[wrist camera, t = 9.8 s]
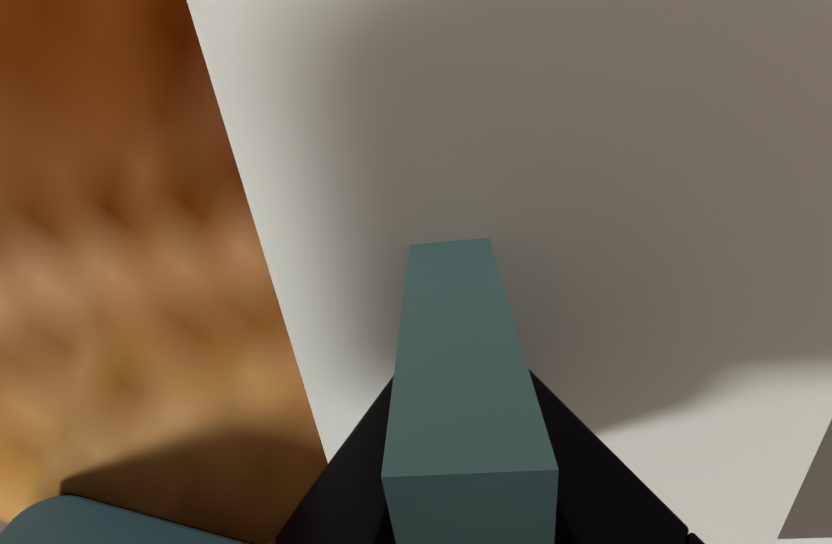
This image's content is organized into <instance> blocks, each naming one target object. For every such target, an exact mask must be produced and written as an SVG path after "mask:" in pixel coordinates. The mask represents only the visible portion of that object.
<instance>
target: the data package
mask: <svg viewBox="0 0 832 544" xmlns="http://www.w3.org/2000/svg"><path fill="white" fill-rule="evenodd" d="M0 544H249V543H245V542H242V541H238V540H234V539H231V538H227V537H224V536H220V535H216V534H213V533H209V532H206V531H202V530H199V529H195V528H191V527H188V526H184V525H181V524H177V523H173V522H170V521H166V520H163V519H159V518H155V517H152V516H148V515H145V514H141V513H137V512H134V511H130V510H127V509H123V508H119V507H116V506H112V505H109V504H105V503H101V502H98V501H94V500H91V499H87V498H83V497H79V496H73V495H63V496H56V497H52V498H48V499H45V500H43V501H40V502H38V503H36V504H34V505H32V506H30V507H28V508H27V509H25V510H24V511H22V512H21V513H20V514H18V515H17V516H16V517H15V518H14V519H13V520H12V521H11V522H10V523H9V524H8V525H7V526H6V527H5V528H4V530H3V531H2V532H1V533H0Z"/></svg>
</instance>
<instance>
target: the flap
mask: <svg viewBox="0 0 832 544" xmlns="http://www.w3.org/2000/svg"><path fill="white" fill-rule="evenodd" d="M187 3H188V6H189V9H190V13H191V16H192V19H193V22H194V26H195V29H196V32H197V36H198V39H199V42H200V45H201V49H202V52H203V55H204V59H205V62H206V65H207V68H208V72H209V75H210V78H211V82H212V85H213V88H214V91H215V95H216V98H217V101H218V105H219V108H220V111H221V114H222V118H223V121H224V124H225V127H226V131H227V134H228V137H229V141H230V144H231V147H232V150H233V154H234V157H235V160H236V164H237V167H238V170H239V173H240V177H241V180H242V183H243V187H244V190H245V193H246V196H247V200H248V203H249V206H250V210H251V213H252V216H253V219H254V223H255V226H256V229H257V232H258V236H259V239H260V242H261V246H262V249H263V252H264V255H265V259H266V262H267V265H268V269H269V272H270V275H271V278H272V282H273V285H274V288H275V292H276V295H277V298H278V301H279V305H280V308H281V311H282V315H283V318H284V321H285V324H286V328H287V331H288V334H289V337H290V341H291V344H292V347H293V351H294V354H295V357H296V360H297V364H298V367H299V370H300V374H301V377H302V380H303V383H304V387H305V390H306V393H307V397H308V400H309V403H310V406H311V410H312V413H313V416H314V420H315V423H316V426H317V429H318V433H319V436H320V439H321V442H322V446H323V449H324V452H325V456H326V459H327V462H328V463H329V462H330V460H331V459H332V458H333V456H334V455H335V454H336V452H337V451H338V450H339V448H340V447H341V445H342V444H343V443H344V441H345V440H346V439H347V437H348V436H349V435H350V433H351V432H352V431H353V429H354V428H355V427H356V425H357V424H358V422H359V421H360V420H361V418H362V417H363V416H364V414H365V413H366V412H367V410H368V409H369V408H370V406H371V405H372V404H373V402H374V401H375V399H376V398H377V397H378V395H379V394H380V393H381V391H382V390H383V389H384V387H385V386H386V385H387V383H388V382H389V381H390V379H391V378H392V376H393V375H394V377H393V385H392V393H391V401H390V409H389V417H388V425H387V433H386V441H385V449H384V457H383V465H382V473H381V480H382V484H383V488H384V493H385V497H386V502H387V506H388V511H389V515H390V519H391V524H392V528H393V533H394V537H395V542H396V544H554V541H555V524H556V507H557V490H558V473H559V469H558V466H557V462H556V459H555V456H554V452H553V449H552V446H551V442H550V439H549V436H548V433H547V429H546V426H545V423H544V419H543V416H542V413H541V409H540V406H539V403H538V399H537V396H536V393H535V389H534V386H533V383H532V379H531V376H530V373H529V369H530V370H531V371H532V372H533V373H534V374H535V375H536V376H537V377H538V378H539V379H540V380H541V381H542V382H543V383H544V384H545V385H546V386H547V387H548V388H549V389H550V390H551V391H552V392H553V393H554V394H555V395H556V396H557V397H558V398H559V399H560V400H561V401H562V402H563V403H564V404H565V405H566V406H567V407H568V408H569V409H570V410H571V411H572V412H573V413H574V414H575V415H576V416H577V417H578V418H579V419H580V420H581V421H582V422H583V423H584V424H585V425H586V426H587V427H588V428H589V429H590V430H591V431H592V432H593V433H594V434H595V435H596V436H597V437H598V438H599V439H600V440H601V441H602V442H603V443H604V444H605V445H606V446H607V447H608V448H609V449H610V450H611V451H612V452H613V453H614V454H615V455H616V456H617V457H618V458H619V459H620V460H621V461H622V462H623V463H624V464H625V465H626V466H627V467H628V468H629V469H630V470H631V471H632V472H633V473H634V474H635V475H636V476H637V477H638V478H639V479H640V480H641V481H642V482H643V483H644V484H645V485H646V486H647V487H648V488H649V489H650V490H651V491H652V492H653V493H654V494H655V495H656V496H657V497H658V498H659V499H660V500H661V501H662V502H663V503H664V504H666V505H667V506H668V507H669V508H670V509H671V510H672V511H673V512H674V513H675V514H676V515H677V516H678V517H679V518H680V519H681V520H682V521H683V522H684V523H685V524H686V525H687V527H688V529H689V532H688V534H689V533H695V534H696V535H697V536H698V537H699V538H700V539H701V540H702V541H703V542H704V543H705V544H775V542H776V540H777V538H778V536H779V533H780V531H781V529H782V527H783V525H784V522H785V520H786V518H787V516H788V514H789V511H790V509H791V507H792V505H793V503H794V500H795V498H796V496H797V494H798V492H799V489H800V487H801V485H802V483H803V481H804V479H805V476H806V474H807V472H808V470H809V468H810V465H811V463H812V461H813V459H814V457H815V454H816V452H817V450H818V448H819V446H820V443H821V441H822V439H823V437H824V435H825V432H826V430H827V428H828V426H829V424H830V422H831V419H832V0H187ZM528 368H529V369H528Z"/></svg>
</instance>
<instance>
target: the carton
mask: <svg viewBox="0 0 832 544" xmlns="http://www.w3.org/2000/svg"><path fill="white" fill-rule="evenodd" d="M775 544H832V419H831V422H830V424H829V426H828V428H827V430H826V432H825V435H824V437H823V439H822V441H821V443H820V446H819V448H818V450H817V452H816V454H815V457H814V459H813V461H812V463H811V465H810V468H809V470H808V472H807V474H806V476H805V479H804V481H803V483H802V485H801V487H800V489H799V492H798V494H797V496H796V498H795V500H794V503H793V505H792V507H791V509H790V511H789V514H788V516H787V518H786V520H785V522H784V525H783V527H782V529H781V531H780V533H779V536H778V538H777V540H776V542H775Z"/></svg>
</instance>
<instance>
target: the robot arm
mask: <svg viewBox="0 0 832 544" xmlns="http://www.w3.org/2000/svg"><path fill="white" fill-rule="evenodd" d="M528 369H529V368H528ZM529 373H530V376H531V379H532V383H533V386H534V389H535V393H536V396H537V399H538V403H539V406H540V409H541V413H542V416H543V419H544V423H545V426H546V429H547V433H548V436H549V439H550V442H551V446H552V449H553V452H554V456H555V459H556V462H557V466H558V469H559V473H558V490H557V507H556V524H555V541H554V544H705V543H704V542H703V541H702V540H701V539H700V538H699V537H698V536H697V535H696V534H695V533H689V534H688V532H689V529H688V527H687V525H686V524H685V523H684V522H683V521H682V520H681V519H680V518H679V517H678V516H677V515H676V514H675V513H674V512H673V511H672V510H671V509H670V508H669V507H668V506H667V505H666V504H664V503H663V502H662V501H661V500H660V499H659V498H658V497H657V496H656V495H655V494H654V493H653V492H652V491H651V490H650V489H649V488H648V487H647V486H646V485H645V484H644V483H643V482H642V481H641V480H640V479H639V478H638V477H637V476H636V475H635V474H634V473H633V472H632V471H631V470H630V469H629V468H628V467H627V466H626V465H625V464H624V463H623V462H622V461H621V460H620V459H619V458H618V457H617V456H616V455H615V454H614V453H613V452H612V451H611V450H610V449H609V448H608V447H607V446H606V445H605V444H604V443H603V442H602V441H601V440H600V439H599V438H598V437H597V436H596V435H595V434H594V433H593V432H592V431H591V430H590V429H589V428H588V427H587V426H586V425H585V424H584V423H583V422H582V421H581V420H580V419H579V418H578V417H577V416H576V415H575V414H574V413H573V412H572V411H571V410H570V409H569V408H568V407H567V406H566V405H565V404H564V403H563V402H562V401H561V400H560V399H559V398H558V397H557V396H556V395H555V394H554V393H553V392H552V391H551V390H550V389H549V388H548V387H547V386H546V385H545V384H544V383H543V382H542V381H541V380H540V379H539V378H538V377H537V376H536V375H535V374H534V373H533V372H532V371H531V370H530V369H529ZM393 377H394V375H393V376H392V378H391V379H390V381H389V382H388V383H387V385H386V386H385V387H384V389H383V390H382V391H381V393H380V394H379V395H378V397H377V398H376V399H375V401H374V402H373V404H372V405H371V406H370V408H369V409H368V410H367V412H366V413H365V414H364V416H363V417H362V418H361V420H360V421H359V422H358V424H357V425H356V427H355V428H354V429H353V431H352V432H351V433H350V435H349V436H348V437H347V439H346V440H345V441H344V443H343V444H342V445H341V447H340V448H339V450H338V451H337V452H336V454H335V455H334V456H333V458H332V459H331V460H330V462H329V463H328V464H327V466H326V467H325V468H324V470H323V471H322V473H321V474H320V475H319V477H318V478H317V479H316V481H315V482H314V483H313V485H312V486H311V487H310V489H309V490H308V491H307V493H306V494H305V496H304V497H303V498H302V500H301V501H300V502H299V504H298V505H297V506H296V508H295V509H294V510H293V512H292V513H291V514H290V516H289V517H288V519H287V520H286V521H285V523H284V524H283V525H282V527H281V528H280V529H279V531H278V532H277V533H276V535H275V536H274V538H273V541H274V544H396V542H395V537H394V533H393V528H392V524H391V519H390V515H389V511H388V506H387V502H386V497H385V493H384V488H383V484H382V480H381V473H382V465H383V457H384V449H385V441H386V433H387V425H388V417H389V409H390V401H391V393H392V385H393ZM269 544H273V543H269Z"/></svg>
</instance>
